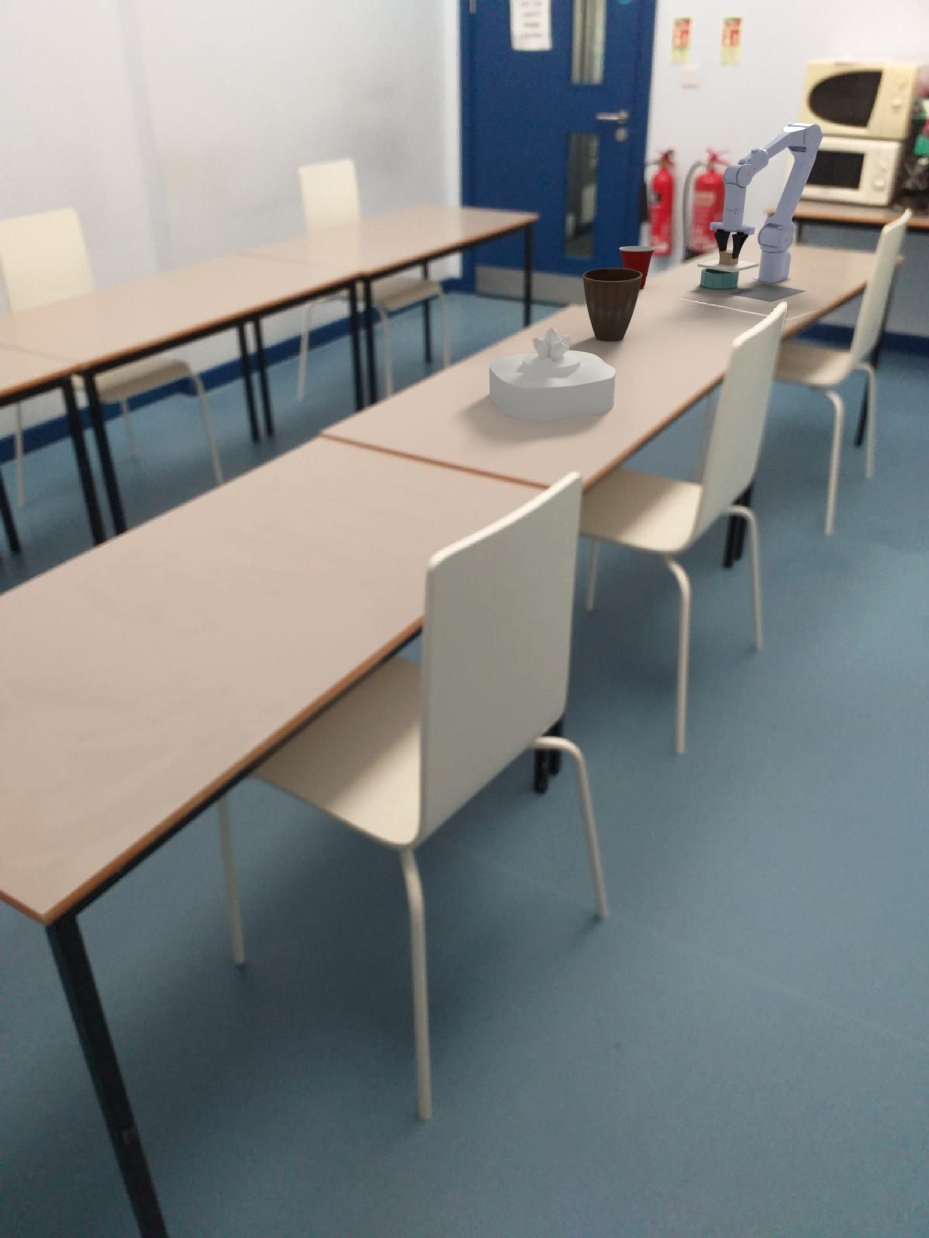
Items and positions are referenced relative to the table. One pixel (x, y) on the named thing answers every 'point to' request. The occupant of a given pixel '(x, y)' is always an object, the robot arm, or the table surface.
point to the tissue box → (551, 382)
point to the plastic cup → (637, 259)
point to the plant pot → (611, 300)
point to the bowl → (718, 279)
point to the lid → (728, 263)
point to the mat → (767, 292)
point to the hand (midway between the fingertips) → (728, 257)
